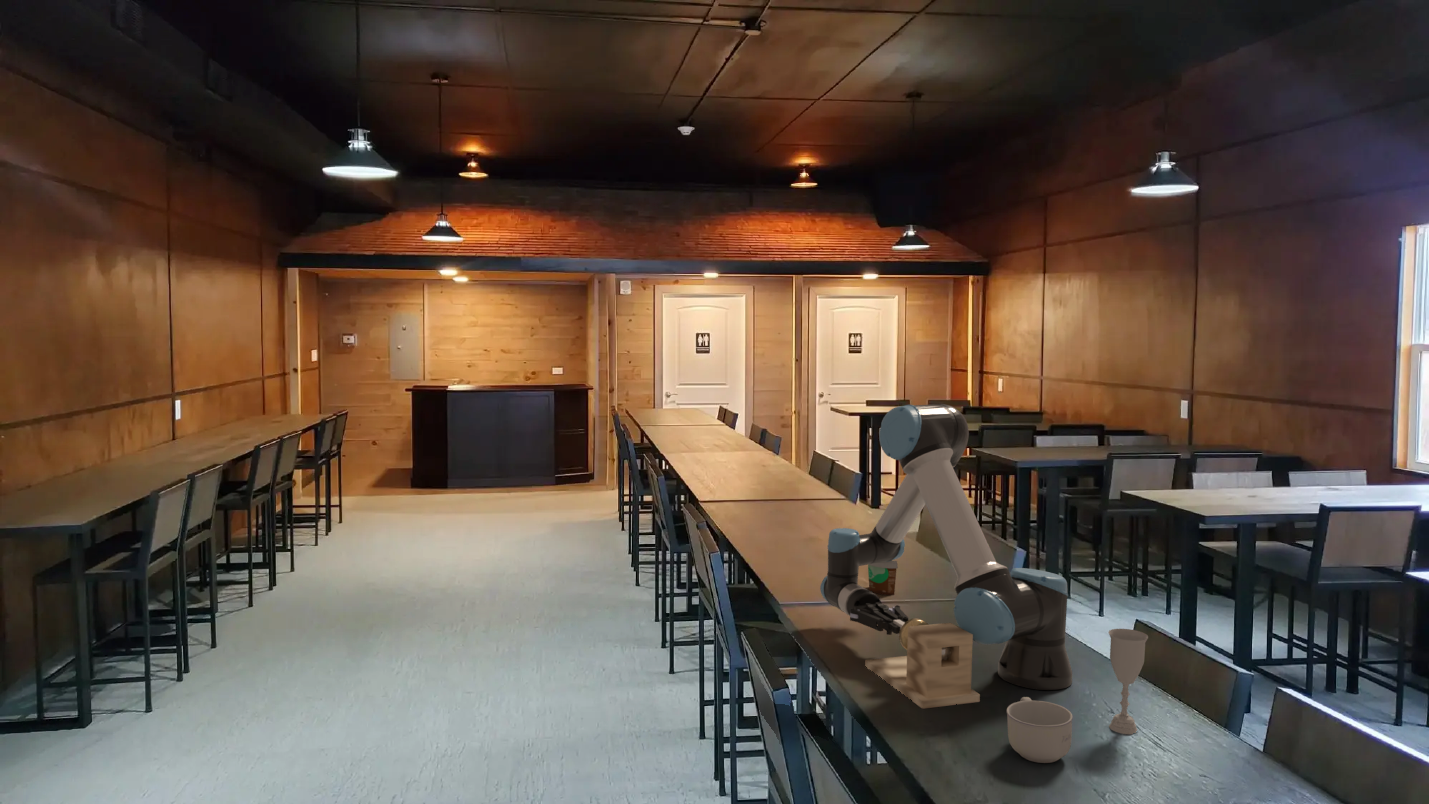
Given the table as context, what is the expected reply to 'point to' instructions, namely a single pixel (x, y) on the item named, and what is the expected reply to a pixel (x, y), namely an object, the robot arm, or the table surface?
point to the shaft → (917, 622)
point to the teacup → (1039, 730)
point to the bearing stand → (931, 667)
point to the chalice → (1126, 671)
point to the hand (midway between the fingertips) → (911, 634)
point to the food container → (882, 577)
